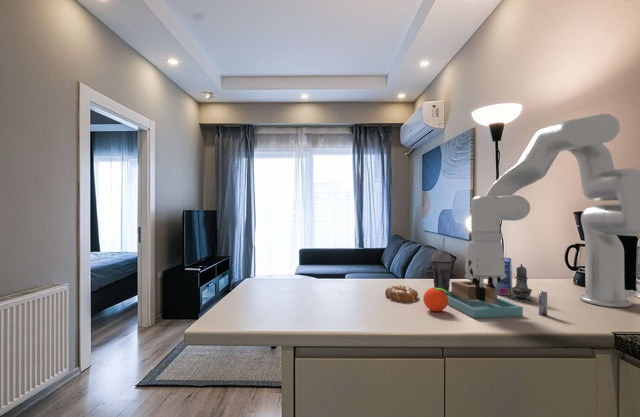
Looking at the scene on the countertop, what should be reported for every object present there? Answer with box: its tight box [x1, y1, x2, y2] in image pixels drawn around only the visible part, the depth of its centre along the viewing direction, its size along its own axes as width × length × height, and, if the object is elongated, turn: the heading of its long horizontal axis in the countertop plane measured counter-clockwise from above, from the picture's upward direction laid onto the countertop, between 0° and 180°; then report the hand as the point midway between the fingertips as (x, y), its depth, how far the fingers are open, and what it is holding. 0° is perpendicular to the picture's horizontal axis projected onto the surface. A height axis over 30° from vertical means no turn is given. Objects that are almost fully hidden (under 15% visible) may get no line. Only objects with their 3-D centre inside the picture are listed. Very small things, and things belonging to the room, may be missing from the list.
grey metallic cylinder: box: [538, 290, 548, 317], centre depth 93 cm, size 2×2×6 cm
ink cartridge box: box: [495, 257, 513, 297], centre depth 119 cm, size 10×6×14 cm, turn 148°
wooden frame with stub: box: [451, 280, 498, 304], centre depth 100 cm, size 9×14×4 cm, turn 9°
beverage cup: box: [430, 237, 453, 292], centre depth 118 cm, size 7×7×20 cm
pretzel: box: [384, 285, 419, 303], centre depth 112 cm, size 12×11×4 cm
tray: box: [445, 290, 524, 320], centre depth 101 cm, size 15×20×2 cm
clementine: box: [422, 287, 451, 313], centre depth 97 cm, size 8×7×7 cm
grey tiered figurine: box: [512, 263, 533, 303], centre depth 109 cm, size 6×6×12 cm
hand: (485, 299), depth 97 cm, fingers closed on wooden frame with stub, 2 cm apart
